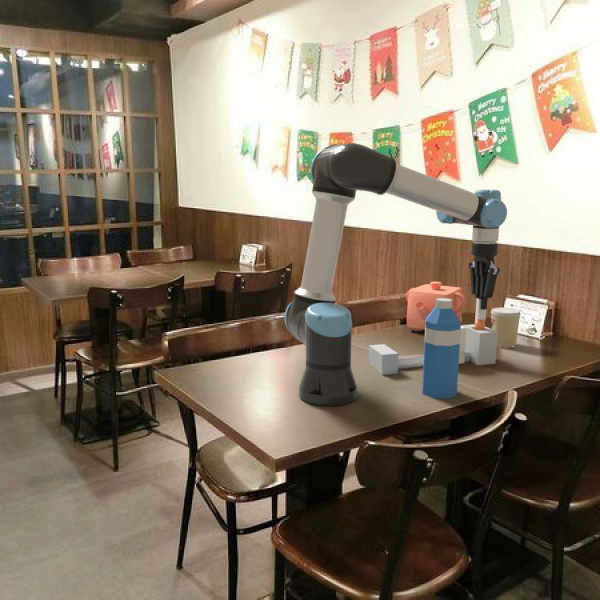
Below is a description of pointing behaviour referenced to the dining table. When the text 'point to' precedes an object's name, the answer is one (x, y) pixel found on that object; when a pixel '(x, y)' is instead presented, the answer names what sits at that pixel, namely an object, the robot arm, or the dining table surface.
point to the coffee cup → (505, 325)
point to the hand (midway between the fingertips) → (480, 318)
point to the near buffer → (383, 359)
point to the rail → (419, 360)
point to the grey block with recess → (481, 345)
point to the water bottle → (441, 351)
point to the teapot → (431, 302)
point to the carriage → (462, 344)
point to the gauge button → (479, 324)
